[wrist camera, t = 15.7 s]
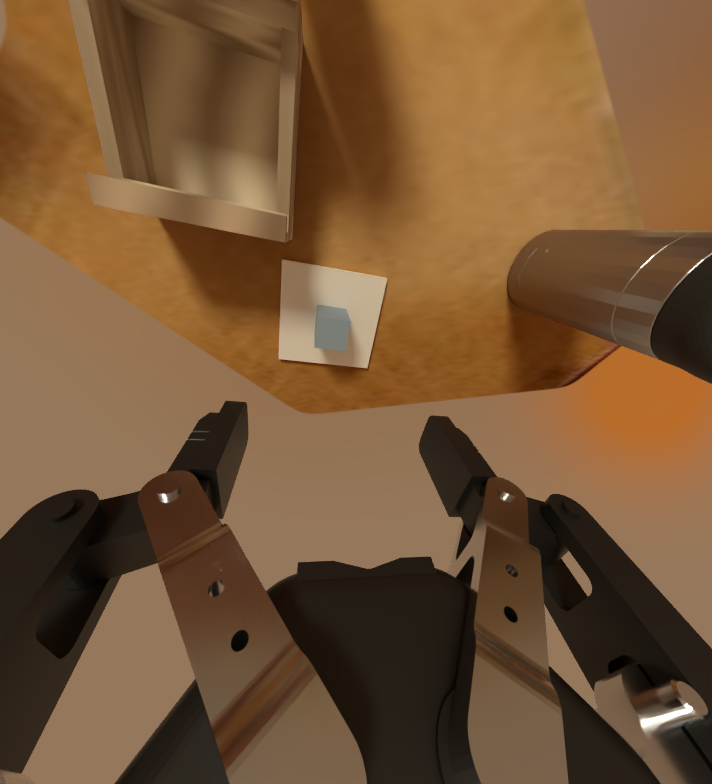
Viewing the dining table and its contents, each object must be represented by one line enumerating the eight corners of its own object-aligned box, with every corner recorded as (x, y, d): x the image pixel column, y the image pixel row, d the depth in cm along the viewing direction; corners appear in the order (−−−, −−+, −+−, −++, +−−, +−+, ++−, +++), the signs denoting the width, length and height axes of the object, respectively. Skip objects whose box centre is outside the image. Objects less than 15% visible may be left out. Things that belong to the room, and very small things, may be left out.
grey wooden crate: (303, 42, 21) (297, -52, 14) (292, 239, 28) (285, 242, 21) (115, -26, 18) (-8, -184, 11) (154, 211, 25) (93, 204, 18)
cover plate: (385, 277, 32) (398, 286, 27) (365, 364, 38) (374, 386, 33) (283, 258, 29) (276, 265, 24) (279, 355, 35) (273, 377, 30)
